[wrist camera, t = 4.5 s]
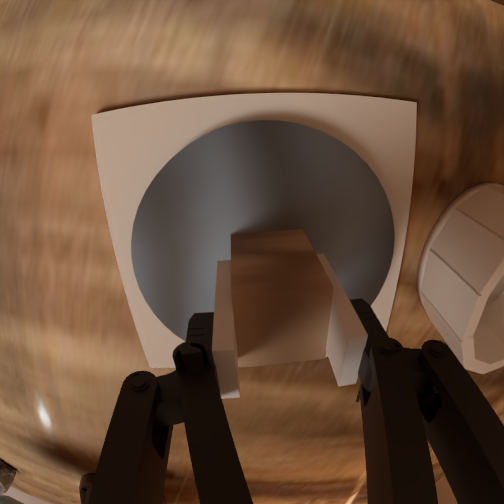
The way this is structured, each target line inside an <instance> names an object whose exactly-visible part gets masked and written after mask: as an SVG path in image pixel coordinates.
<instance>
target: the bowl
mask: <svg viewBox="0 0 504 504" xmlns="http://www.w3.org/2000/svg"><path fill="white" fill-rule="evenodd" d="M417 292H418V296H419V300H420V302H421V304H422V306H423V308H424V309H425V311H426V312H427V315H428V319H429V320H430V321H431V322H432V324H433V325H434V327H435V328H436V329H437V331H438V332H439V333H440V335H441V336H442V337H443V339H444V340H445V342H446V343H447V344H448V346H449V347H450V349H451V350H452V351H453V353H454V354H455V356H456V357H457V358H458V360H459V361H460V363H461V364H462V365H463V367H464V368H465V369H467V370H470V371H473V372H477V373H480V374H485V373H488V372H490V371H493V370H495V369H497V368H500V367H502V366H504V186H503V185H501V184H498V183H493V182H489V183H482V184H478V185H476V186H473V187H471V188H469V189H468V190H466V191H464V192H463V193H462V194H460V195H459V196H458V197H457V198H455V199H454V200H453V201H452V202H451V203H450V204H449V205H448V207H447V208H446V209H445V210H444V212H443V213H442V214H441V215H440V217H439V218H438V220H437V221H436V223H435V225H434V226H433V228H432V230H431V232H430V234H429V236H428V238H427V240H426V242H425V245H424V248H423V250H422V253H421V257H420V261H419V265H418V271H417Z"/></svg>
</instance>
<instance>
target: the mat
mask: <svg viewBox="0 0 504 504" xmlns="http://www.w3.org/2000/svg"><path fill="white" fill-rule="evenodd" d="M416 116H417V102H411V101H403V100H396V99H388V98H378V97H368V96H356V95H342V94H322V93H255V94H234V95H220V96H208V97H197V98H188V99H180V100H172V101H164V102H157V103H151V104H145V105H139V106H133V107H127V108H122V109H117V110H112V111H107V112H102V113H98V114H93V115H91V117H92V127H93V135H94V143H95V151H96V158H97V164H98V171H99V177H100V183H101V189H102V194H103V200H104V205H105V210H106V215H107V220H108V225H109V229H110V234H111V238H112V242H113V247H114V251H115V255H116V259H117V263H118V267H119V271H120V275H121V278H122V282H123V286H124V289H125V293H126V296H127V300H128V303H129V306H130V310H131V313H132V316H133V319H134V323H135V326H136V329H137V332H138V335H139V338H140V341H141V344H142V347H143V350H144V352H145V355H146V358H147V361H148V364H149V366H150V368H176V367H175V364H174V360H173V357H172V355H173V351H174V349H175V348H176V347H177V346H178V345H180V344H181V343H183V342H185V341H184V340H182V339H181V338H179V337H178V336H176V335H175V334H174V333H173V332H171V331H170V330H169V329H168V328H167V327H166V326H165V325H163V323H162V322H161V321H160V320H159V319H158V318H157V317H156V316H155V314H154V313H153V312H152V310H151V309H150V307H149V306H148V304H147V303H146V301H145V299H144V297H143V295H142V293H141V291H140V289H139V287H138V284H137V281H136V278H135V274H134V270H133V264H132V258H131V237H132V229H133V223H134V220H135V216H136V212H137V209H138V206H139V204H140V202H141V200H142V197H143V195H144V193H145V191H146V190H147V188H148V186H149V185H150V183H151V182H152V180H153V179H154V177H155V176H156V175H157V173H158V172H159V171H160V170H161V169H162V168H163V167H164V166H165V164H166V163H167V162H168V161H169V160H170V159H171V158H172V157H173V156H175V155H176V154H177V153H178V152H179V151H181V150H182V149H183V148H184V147H186V146H187V145H188V144H190V143H191V142H193V141H195V140H196V139H198V138H200V137H201V136H203V135H205V134H207V133H210V132H212V131H214V130H217V129H219V128H221V127H225V126H229V125H232V124H236V123H240V122H247V121H256V120H278V121H285V122H291V123H297V124H301V125H304V126H307V127H310V128H313V129H316V130H319V131H322V132H324V133H326V134H328V135H330V136H332V137H334V138H336V139H338V140H340V141H341V142H342V143H344V144H345V145H347V146H348V147H349V148H351V149H352V150H354V151H355V152H356V153H357V154H358V155H359V156H360V157H361V158H362V159H363V160H364V161H365V162H366V163H367V164H368V165H369V167H370V168H371V169H372V171H373V172H374V173H375V175H376V176H377V177H378V179H379V181H380V183H381V185H382V187H383V189H384V190H385V192H386V195H387V198H388V201H389V204H390V206H391V211H392V216H393V221H394V234H395V240H394V252H393V257H392V262H391V266H390V269H389V272H388V275H387V278H386V281H385V283H384V285H383V287H382V289H381V291H380V293H379V295H378V296H377V298H376V299H375V301H374V302H373V304H372V305H371V308H372V309H373V311H374V313H375V314H376V316H377V318H378V319H379V321H380V323H381V325H382V326H383V328H384V330H385V331H386V330H387V326H388V322H389V318H390V314H391V310H392V305H393V301H394V297H395V292H396V287H397V282H398V278H399V273H400V267H401V262H402V256H403V251H404V245H405V239H406V232H407V225H408V218H409V210H410V202H411V193H412V184H413V173H414V160H415V144H416ZM326 357H328V354H327V351H326ZM238 366H239V361H238Z"/></svg>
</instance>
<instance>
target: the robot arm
mask: <svg viewBox="0 0 504 504" xmlns="http://www.w3.org/2000/svg"><path fill="white" fill-rule="evenodd" d="M316 255H317V256H318V258H319V260H320V262H321V264H322V266H323V268H324V270H325V272H326V274H327V276H328V277H329V279H330V281H331V283H332V285H333V298H332V304H331V313H330V321H329V329H328V337H327V344H326V351H327V354H328V357H329V360H330V363H331V366H332V369H333V372H334V375H335V378H336V381H337V384H338V387H339V386H345V385H351V384H356V381H357V377H358V375H359V378H360V380H361V385H360V389H359V392H358V395H357V399H356V402H359V399H360V401H361V410H362V420H363V431H364V443H365V457H366V473H367V495H368V504H438V499H437V492H436V486H435V479H434V473H433V468H432V462H431V457H430V452H429V447H428V442H427V439H428V441H429V443H430V445H431V447H432V449H433V451H434V453H435V455H436V457H437V459H438V461H439V463H440V465H441V467H442V470H443V472H444V474H445V476H446V478H447V480H448V482H449V485H450V487H451V489H452V491H453V493H454V495H455V498H456V500H457V502H458V504H504V426H503V424H502V422H501V421H500V419H499V418H498V416H497V414H496V413H495V411H494V410H493V408H492V407H491V405H490V404H489V402H488V401H487V399H486V398H485V396H484V395H483V394H482V392H481V391H480V389H479V388H478V386H477V385H476V384H475V382H474V381H473V379H472V378H471V376H470V375H469V374H468V372H467V371H466V370H465V368H464V367H463V365H462V364H461V363H460V361H459V360H458V359H457V357H456V356H455V355H454V353H453V352H452V351H451V349H450V348H449V347H448V346H447V345H446V344H445V343H443V342H441V341H438V340H429V341H427V342H425V343H424V344H423V345H422V348H421V349H410V348H403V347H402V345H401V343H399V342H398V341H397V340H395V339H393V338H389V337H388V335H387V333H386V331H385V330H384V328H383V326H382V325H381V323H380V321H379V319H378V318H377V316H376V314H375V313H374V311H373V309H372V308H371V306H370V304H369V303H367V302H366V301H364V300H363V299H362V298H359V299H350V300H349V298H348V297H347V295H346V293H345V291H344V289H343V287H342V286H341V284H340V282H339V280H338V278H337V277H336V275H335V273H334V271H333V269H332V268H331V266H330V264H329V262H328V260H327V259H326V257H325V255H324V254H316ZM172 357H173V360H174V364H175V367H176V370H175V371H173V372H172V373H169V374H167V375H163V376H159V377H155V375H154V374H152V373H151V372H147V371H137V372H134V373H132V374H130V375H129V376H128V377H126V379H125V380H124V382H123V385H122V388H121V391H120V394H119V397H118V400H117V403H116V406H115V409H114V412H113V415H112V418H111V422H110V425H109V428H108V431H107V435H106V438H105V441H104V445H103V448H102V452H101V455H100V459H99V462H98V466H97V470H96V473H95V474H88V475H84V476H82V477H81V481H80V486H79V491H80V498H81V504H165V501H166V500H165V498H164V497H163V492H164V484H165V477H166V470H167V463H168V456H169V450H170V443H171V437H172V430H173V425H175V424H179V423H182V422H184V423H185V429H186V435H187V441H188V446H189V452H190V457H191V462H192V467H193V472H194V477H195V482H196V486H197V491H198V495H199V500H200V504H253V502H252V499H251V496H250V493H249V490H248V487H247V483H246V480H245V477H244V474H243V471H242V468H241V465H240V461H239V458H238V455H237V451H236V448H235V445H234V441H233V438H232V435H231V431H230V428H229V424H228V421H227V417H226V414H225V410H224V406H223V403H222V399H221V398H240V390H239V368H238V353H237V343H236V334H235V324H234V314H233V308H232V299H231V260H225V261H217V274H216V289H215V304H214V312H203V313H194V314H193V316H192V317H191V318H190V319H189V322H188V330H187V337H186V342H183V343H181V344H180V345H178V346H177V347H176V348H175V349H174V351H173V355H172ZM0 504H23V503H21V502H19V501H17V500H15V499H13V498H11V497H9V496H5V495H3V496H0Z"/></svg>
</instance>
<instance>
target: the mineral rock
mask: <svg viewBox="0 0 504 504" xmlns="http://www.w3.org/2000/svg"><path fill="white" fill-rule="evenodd" d="M15 475H16V471H15V470H14V469H12V468H11V467H10V466H8V465H6V464H4V463H3V462H2V461H1V460H0V496H2V495H3V494H5V493H6V492H7V490H8V489H9V487H10V486H11V484H12V482H13V480H14V477H15Z"/></svg>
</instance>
